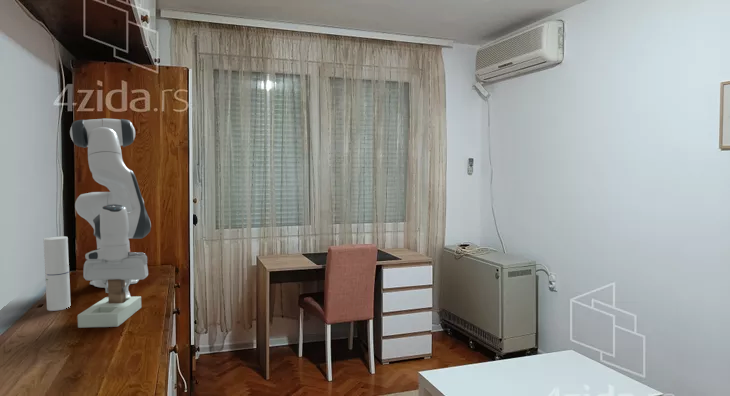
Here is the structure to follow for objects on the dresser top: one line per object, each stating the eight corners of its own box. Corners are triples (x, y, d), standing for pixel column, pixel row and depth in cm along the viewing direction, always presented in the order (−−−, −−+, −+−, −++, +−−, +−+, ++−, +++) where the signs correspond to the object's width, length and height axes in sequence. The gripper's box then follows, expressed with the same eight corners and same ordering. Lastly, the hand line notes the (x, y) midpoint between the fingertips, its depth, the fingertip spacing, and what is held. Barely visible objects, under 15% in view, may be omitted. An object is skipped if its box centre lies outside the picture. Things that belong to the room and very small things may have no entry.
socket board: (106, 308, 172) (105, 297, 171) (141, 307, 173) (141, 296, 172) (78, 327, 152) (77, 315, 151) (117, 326, 153) (117, 314, 152)
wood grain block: (113, 305, 169) (112, 277, 168) (125, 305, 169) (124, 276, 168) (108, 308, 165) (107, 279, 164) (121, 308, 165) (120, 279, 164)
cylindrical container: (59, 311, 168) (55, 239, 166) (41, 310, 169) (38, 239, 167) (75, 305, 175) (72, 236, 173) (58, 304, 176) (55, 236, 174)
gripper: (150, 250, 169) (151, 289, 170) (89, 251, 168) (90, 290, 169) (143, 253, 163) (145, 294, 164) (80, 254, 161) (81, 295, 162)
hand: (117, 292), depth 166 cm, fingers closed on wood grain block, 4 cm apart
